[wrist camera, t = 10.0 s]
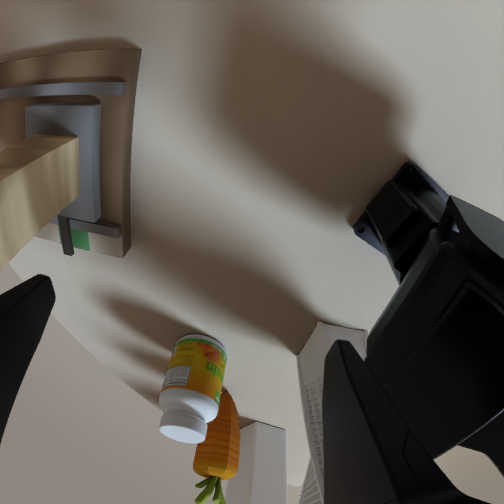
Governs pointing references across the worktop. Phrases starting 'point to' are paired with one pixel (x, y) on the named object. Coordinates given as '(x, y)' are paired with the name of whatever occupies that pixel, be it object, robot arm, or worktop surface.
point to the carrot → (218, 451)
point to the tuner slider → (50, 175)
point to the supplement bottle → (192, 388)
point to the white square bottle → (260, 467)
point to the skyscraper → (319, 398)
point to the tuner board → (111, 129)
